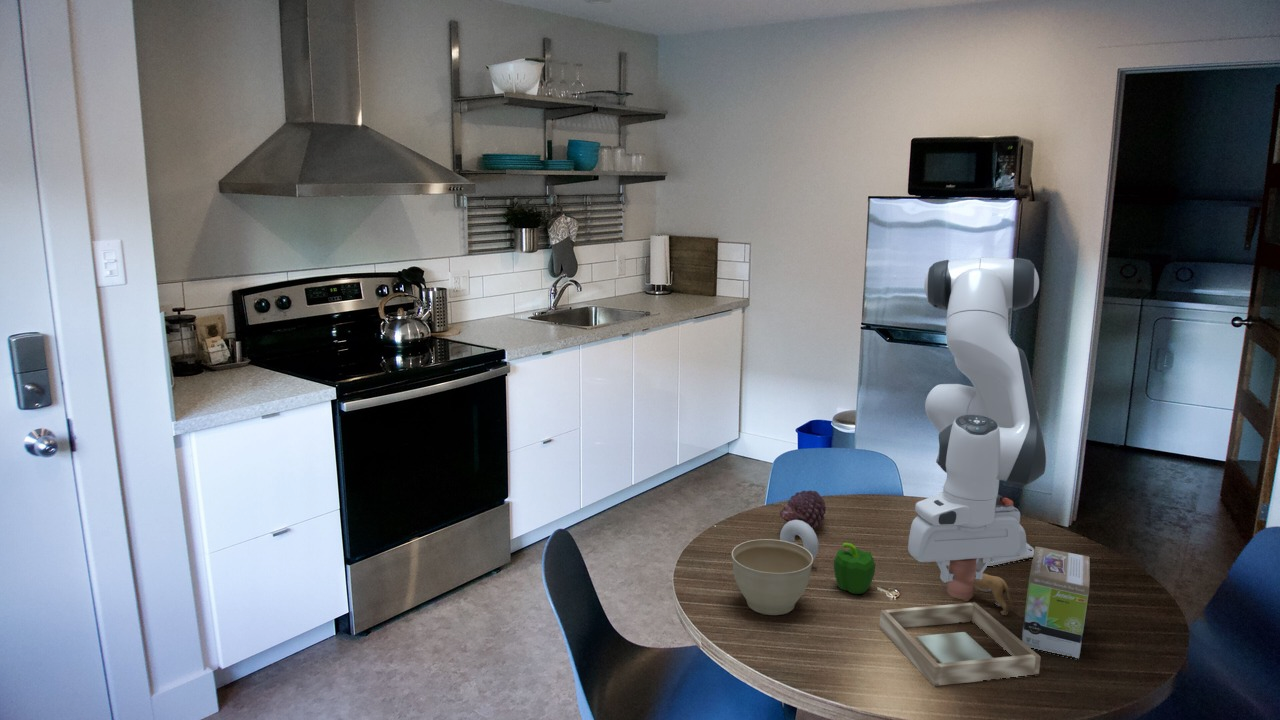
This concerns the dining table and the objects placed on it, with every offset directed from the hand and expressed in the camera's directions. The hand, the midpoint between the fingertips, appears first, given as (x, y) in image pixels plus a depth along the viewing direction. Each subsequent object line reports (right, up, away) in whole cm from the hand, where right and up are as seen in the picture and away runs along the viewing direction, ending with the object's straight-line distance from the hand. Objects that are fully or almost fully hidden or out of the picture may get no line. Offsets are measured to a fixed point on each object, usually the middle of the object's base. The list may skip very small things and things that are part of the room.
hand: (961, 580), depth 151 cm
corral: (0, -14, +3) cm, 14 cm away
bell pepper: (-13, -9, +26) cm, 31 cm away
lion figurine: (+12, -10, +21) cm, 26 cm away
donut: (-22, -6, +39) cm, 45 cm away
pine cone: (-17, -3, +58) cm, 60 cm away
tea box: (+20, -13, +8) cm, 26 cm away
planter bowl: (-32, -10, +19) cm, 38 cm away
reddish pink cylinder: (0, -3, 0) cm, 3 cm away
